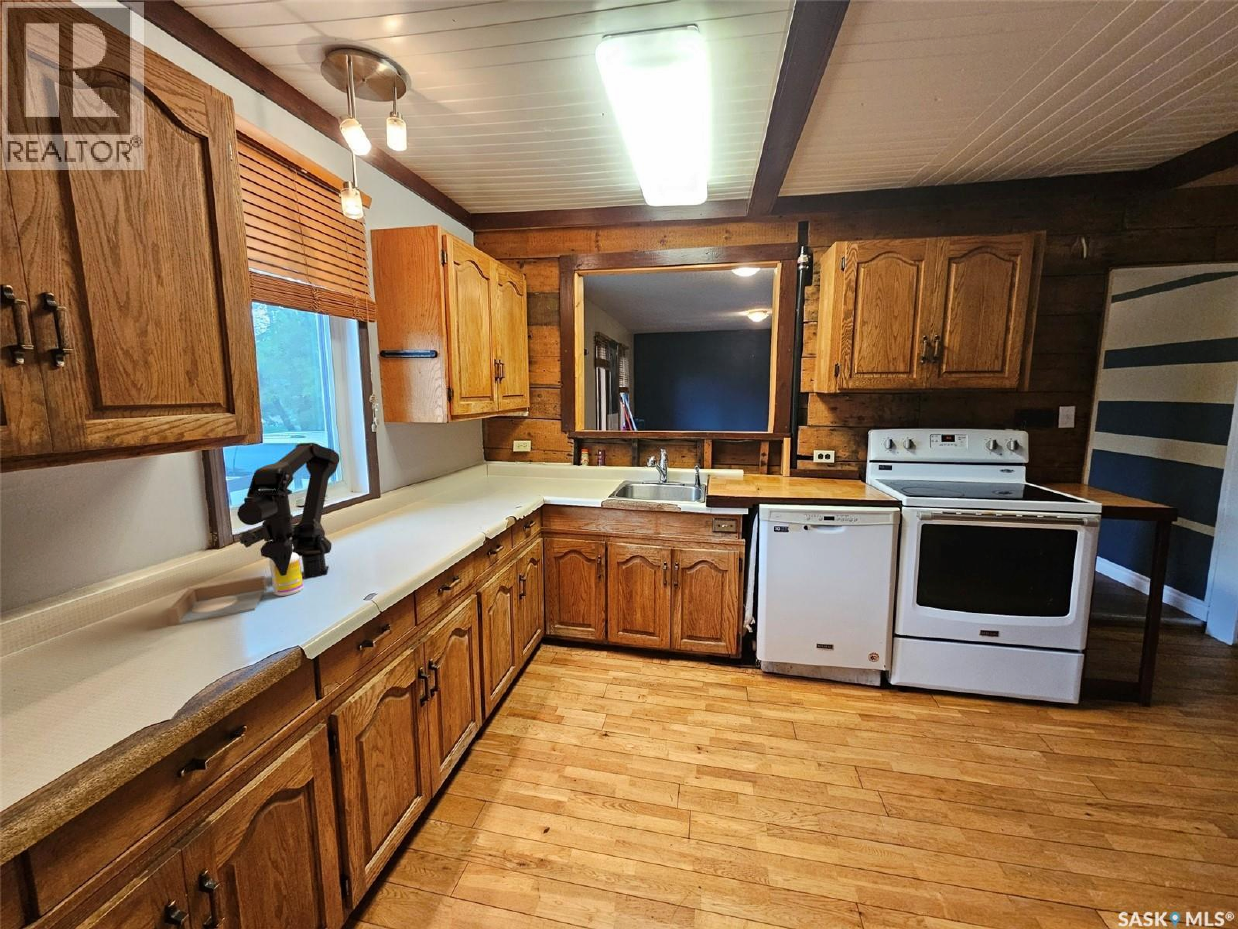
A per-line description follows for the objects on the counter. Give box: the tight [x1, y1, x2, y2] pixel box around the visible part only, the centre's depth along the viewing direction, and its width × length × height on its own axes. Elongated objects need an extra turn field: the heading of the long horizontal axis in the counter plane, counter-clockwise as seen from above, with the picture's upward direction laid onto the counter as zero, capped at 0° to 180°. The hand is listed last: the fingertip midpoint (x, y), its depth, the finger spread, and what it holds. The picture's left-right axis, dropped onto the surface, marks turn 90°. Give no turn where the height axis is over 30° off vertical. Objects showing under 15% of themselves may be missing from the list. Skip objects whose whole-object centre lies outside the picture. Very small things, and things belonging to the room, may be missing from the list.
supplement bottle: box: [268, 544, 304, 597], centre depth 129 cm, size 7×7×13 cm
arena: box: [168, 575, 267, 627], centre depth 122 cm, size 14×16×4 cm
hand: (286, 570), depth 129 cm, fingers open, 8 cm apart
